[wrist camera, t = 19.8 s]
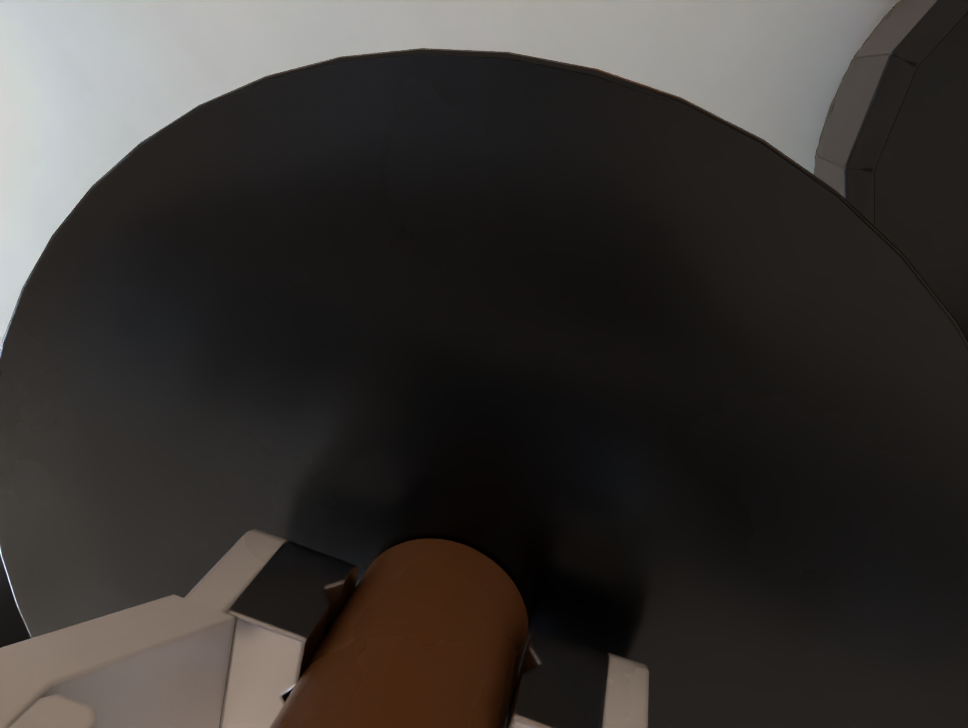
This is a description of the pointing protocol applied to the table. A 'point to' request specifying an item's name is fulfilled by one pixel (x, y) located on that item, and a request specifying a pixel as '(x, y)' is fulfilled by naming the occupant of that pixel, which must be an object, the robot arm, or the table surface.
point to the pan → (909, 141)
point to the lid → (501, 398)
